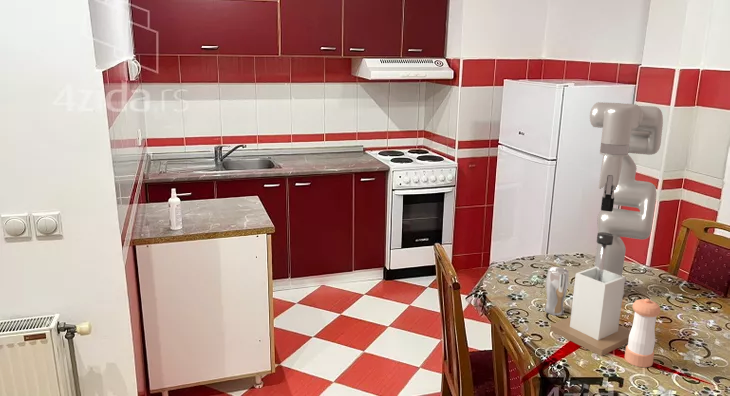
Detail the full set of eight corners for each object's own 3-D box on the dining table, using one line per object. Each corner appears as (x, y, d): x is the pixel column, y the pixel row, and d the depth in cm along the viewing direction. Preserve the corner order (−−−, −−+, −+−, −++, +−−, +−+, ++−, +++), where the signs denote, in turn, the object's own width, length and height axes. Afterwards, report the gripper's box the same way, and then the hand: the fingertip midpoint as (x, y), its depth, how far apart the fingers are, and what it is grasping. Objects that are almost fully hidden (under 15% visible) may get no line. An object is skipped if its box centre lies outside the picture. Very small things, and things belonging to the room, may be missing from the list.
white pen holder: (585, 316, 185) (592, 260, 179) (636, 339, 170) (645, 278, 165) (550, 330, 175) (556, 271, 170) (601, 356, 161) (609, 292, 155)
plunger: (594, 289, 174) (601, 229, 169) (616, 298, 168) (624, 235, 163) (579, 294, 170) (586, 233, 165) (601, 304, 164) (609, 240, 159)
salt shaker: (619, 354, 162) (628, 294, 157) (643, 353, 162) (652, 293, 157) (633, 368, 155) (642, 305, 150) (658, 366, 155) (668, 304, 150)
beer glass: (566, 317, 184) (570, 275, 180) (544, 314, 185) (548, 273, 181) (563, 307, 190) (567, 267, 187) (542, 305, 192) (546, 265, 188)
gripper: (602, 144, 168) (595, 202, 172) (598, 152, 155) (590, 215, 160) (629, 146, 164) (621, 205, 169) (627, 155, 151) (619, 218, 156)
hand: (606, 210), depth 164 cm, fingers closed
